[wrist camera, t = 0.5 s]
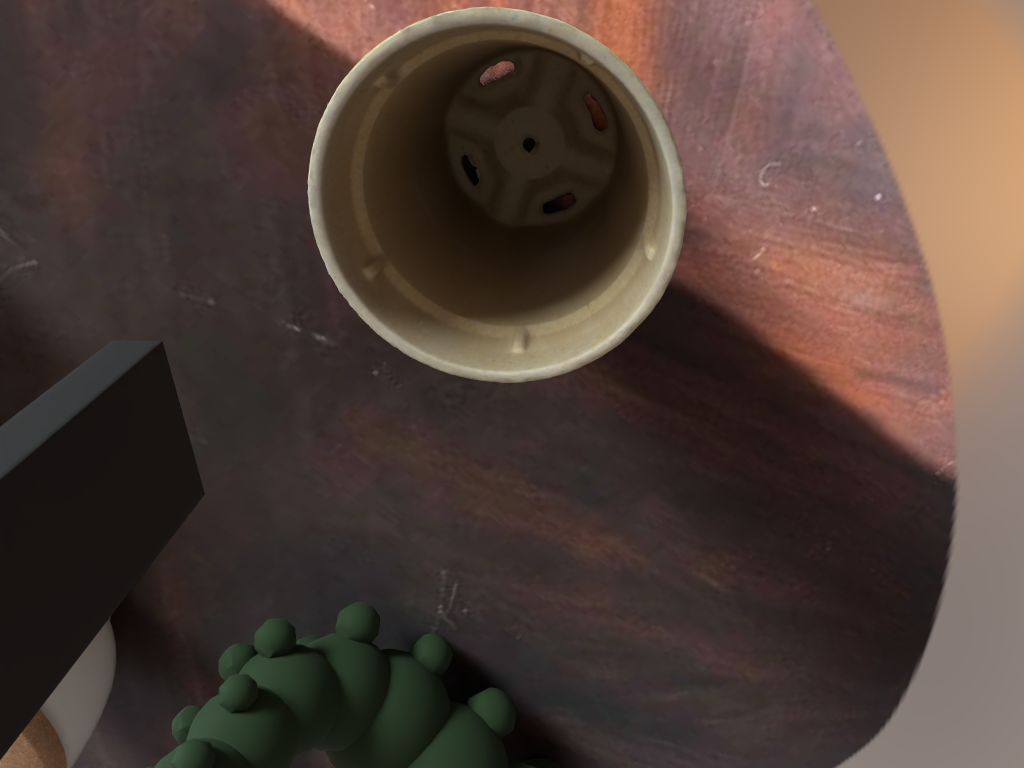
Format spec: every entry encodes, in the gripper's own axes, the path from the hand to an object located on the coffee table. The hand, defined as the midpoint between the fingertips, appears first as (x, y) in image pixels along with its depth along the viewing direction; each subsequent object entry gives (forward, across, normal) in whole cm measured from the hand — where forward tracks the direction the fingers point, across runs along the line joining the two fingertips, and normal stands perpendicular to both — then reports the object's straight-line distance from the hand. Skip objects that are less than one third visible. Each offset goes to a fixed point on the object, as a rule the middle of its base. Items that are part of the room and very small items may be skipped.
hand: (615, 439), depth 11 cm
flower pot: (+18, -3, 0) cm, 18 cm away
